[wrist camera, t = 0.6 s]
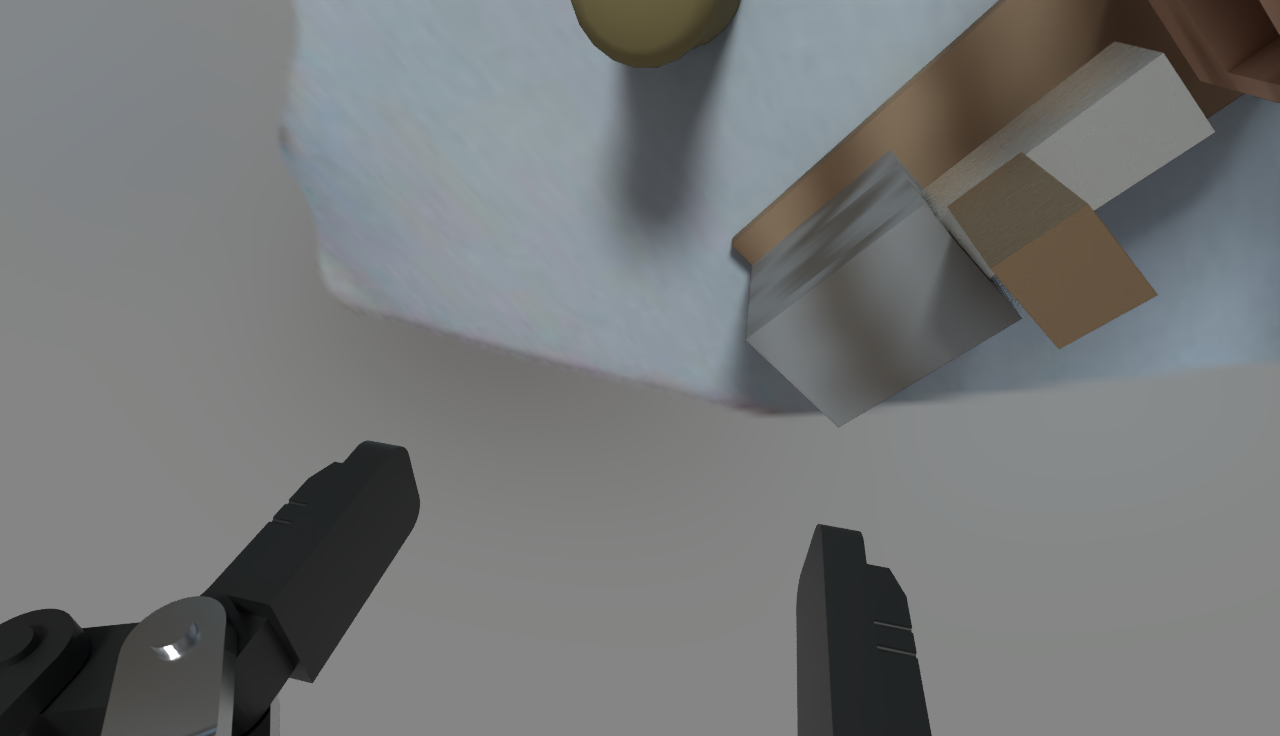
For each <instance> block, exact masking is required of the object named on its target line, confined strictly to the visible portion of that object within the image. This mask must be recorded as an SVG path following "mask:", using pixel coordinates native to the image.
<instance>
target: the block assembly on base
mask: <svg viewBox="0 0 1280 736" xmlns="http://www.w3.org/2000/svg"><path fill="white" fill-rule="evenodd" d="M1114 41H1115V42H1119V43H1123V44H1128V45H1132V46H1136V47H1141V48H1145V49H1149V50H1153V51H1158V52H1162V53H1164V54H1165V56H1166V57H1167V59H1168V60H1169V62H1170V63H1171V65H1172V67H1173V68H1174V70H1175V71H1176V73H1177V74H1178V76H1179V77H1180V79H1181V80H1182V82H1183V83H1184V85H1185V86H1186V88H1187V89H1188V91H1189V92H1190V94H1191V96H1192V97H1193V99H1194V100H1195V102H1196V103H1197V105H1198V106H1199V108H1200V109H1201V111H1202V112H1203V114H1204V115H1205V117H1206V118H1209V117H1210V116H1212V115H1213V114H1215V113H1216V112H1218V111H1219V110H1221V109H1222V108H1224V107H1225V106H1227V105H1228V104H1230V103H1231V102H1233V101H1234V100H1236V99H1237V98H1239V97H1240V96H1242V95H1243V94H1248V95H1252V96H1256V97H1259V98H1263V99H1266V100H1270V101H1273V102H1277V103H1280V0H999V1H998V2H997V3H996V4H995V5H993V6H992V7H991V8H990V9H989V10H988V11H987V12H986V13H984V14H983V15H982V16H981V17H980V18H979V19H978V20H977V21H976V22H974V23H973V24H972V25H971V26H970V27H969V28H968V29H967V30H965V31H964V32H963V33H962V34H961V35H960V36H959V37H958V38H956V39H955V40H954V41H953V42H952V43H951V44H950V45H949V46H947V47H946V48H945V49H944V50H943V51H942V52H941V53H940V54H939V55H937V56H936V57H935V58H934V59H933V60H932V61H931V62H930V63H928V64H927V65H926V66H925V67H924V68H923V69H922V70H921V71H919V72H918V73H917V74H916V75H915V76H914V77H913V78H912V79H911V80H909V81H908V82H907V83H906V84H905V85H904V86H903V87H902V88H900V89H899V90H898V91H897V92H896V93H895V94H894V95H893V96H891V97H890V98H889V99H888V100H887V101H886V102H885V103H884V104H882V105H881V106H880V107H879V108H878V109H877V110H876V111H875V112H874V113H872V114H871V115H870V116H869V117H868V118H867V119H866V120H865V121H863V122H862V123H861V124H860V125H859V126H858V127H857V128H856V129H854V130H853V131H852V132H851V133H850V134H849V135H848V136H847V137H845V138H844V139H843V140H842V141H841V142H840V143H839V144H838V145H837V146H835V147H834V148H833V149H832V150H831V151H830V152H829V153H828V154H826V155H825V156H824V157H823V158H822V159H821V160H820V161H819V162H817V163H816V164H815V165H814V166H813V167H812V168H811V169H810V170H809V171H807V172H806V173H805V174H804V175H803V176H802V177H801V178H800V179H798V180H797V181H796V182H795V183H794V184H793V185H792V186H791V187H789V188H788V189H787V190H786V191H785V192H784V193H783V194H782V195H780V196H779V197H778V198H777V199H776V200H775V201H774V202H773V203H772V204H770V205H769V206H768V207H767V208H766V209H765V210H764V211H763V212H761V213H760V214H759V215H758V216H757V217H756V218H755V219H754V220H752V221H751V222H750V223H749V224H748V225H747V226H746V227H745V228H743V229H742V230H741V231H740V232H739V233H738V234H737V235H736V236H735V237H733V239H732V246H733V247H734V248H735V249H736V250H737V251H738V252H739V253H740V254H741V255H742V256H743V257H744V258H745V259H746V260H747V261H748V262H749V263H750V264H751V265H752V272H751V283H750V295H749V306H748V317H747V329H746V341H747V342H748V343H749V344H750V345H751V346H752V347H754V348H755V349H756V350H757V351H758V352H759V353H760V354H761V355H762V356H763V357H764V358H765V359H766V360H767V361H768V362H769V363H771V364H772V365H773V366H774V367H775V368H776V369H777V370H778V371H779V372H780V373H781V374H782V375H783V376H784V377H785V378H786V379H788V380H789V381H790V382H791V383H792V384H793V385H794V386H795V387H796V388H797V389H798V390H799V391H800V392H801V393H802V394H803V395H804V396H806V397H807V398H808V399H809V400H810V401H811V402H812V403H813V404H814V405H815V406H816V407H817V408H818V409H819V410H820V411H821V412H823V413H824V414H825V415H826V416H827V417H828V418H829V419H830V420H831V421H832V422H833V423H834V424H835V425H836V426H837V427H840V426H842V425H843V424H845V423H847V422H849V421H850V420H852V419H854V418H855V417H857V416H859V415H860V414H862V413H864V412H866V411H867V410H869V409H871V408H872V407H874V406H876V405H877V404H879V403H881V402H882V401H884V400H886V399H887V398H889V397H891V396H892V395H894V394H896V393H898V392H899V391H901V390H903V389H904V388H906V387H908V386H909V385H911V384H913V383H914V382H916V381H918V380H919V379H921V378H923V377H924V376H926V375H928V374H929V373H931V372H933V371H935V370H936V369H938V368H940V367H941V366H943V365H945V364H946V363H948V362H950V361H951V360H953V359H955V358H956V357H958V356H960V355H961V354H963V353H965V352H966V351H968V350H970V349H972V348H973V347H975V346H977V345H978V344H980V343H982V342H983V341H985V340H987V339H988V338H990V337H992V336H993V335H995V334H997V333H998V332H1000V331H1002V330H1003V329H1005V328H1007V327H1009V326H1010V325H1012V324H1014V323H1015V322H1017V321H1019V320H1020V319H1022V318H1021V317H1020V315H1019V314H1018V312H1017V311H1016V309H1015V308H1014V306H1013V305H1012V303H1011V302H1010V301H1009V299H1008V298H1007V296H1006V295H1005V293H1004V292H1003V290H1002V289H1001V287H1000V286H999V284H998V283H997V282H996V280H995V279H994V277H993V276H992V277H991V278H988V276H987V275H986V274H985V273H984V272H983V271H982V269H981V268H980V267H979V266H978V265H977V264H976V262H975V261H974V260H973V259H972V258H971V257H970V255H969V254H968V253H967V252H966V251H965V250H964V249H963V247H962V246H961V245H960V244H959V243H958V242H957V240H956V239H955V238H954V237H953V236H952V235H951V233H950V232H949V231H948V230H947V229H946V228H945V227H944V225H943V224H942V223H941V222H940V221H939V220H938V218H937V217H936V216H935V215H934V214H933V212H932V210H931V209H930V207H929V206H928V204H927V202H926V201H925V199H924V197H923V196H922V194H921V193H920V192H921V191H922V190H923V189H925V188H926V187H927V186H928V185H930V184H931V183H932V182H934V181H935V180H936V179H938V178H939V177H940V176H941V175H943V174H944V173H945V172H947V171H948V170H949V169H950V168H952V167H953V166H954V165H956V164H957V163H958V162H959V161H961V160H962V159H963V158H965V157H966V156H967V155H968V154H970V153H971V152H972V151H974V150H975V149H976V148H978V147H979V146H980V145H981V144H983V143H984V142H985V141H987V140H988V139H989V138H990V137H992V136H993V135H994V134H996V133H997V132H998V131H999V130H1001V129H1002V128H1003V127H1005V126H1006V125H1007V124H1008V123H1010V122H1011V121H1012V120H1014V119H1015V118H1016V117H1018V116H1019V115H1020V114H1021V113H1023V112H1024V111H1025V110H1027V109H1028V108H1029V107H1030V106H1032V105H1033V104H1034V103H1036V102H1037V101H1038V100H1039V99H1041V98H1042V97H1043V96H1045V95H1046V94H1047V93H1048V92H1050V91H1051V90H1052V89H1054V88H1055V87H1056V86H1057V85H1059V84H1060V83H1061V82H1063V81H1064V80H1065V79H1067V78H1068V77H1069V76H1070V75H1072V74H1073V73H1074V72H1076V71H1077V70H1078V69H1079V68H1081V67H1082V66H1083V65H1085V64H1086V63H1087V62H1088V61H1090V60H1091V59H1092V58H1094V57H1095V56H1096V55H1097V54H1099V53H1100V52H1101V51H1103V50H1104V49H1105V48H1107V47H1108V46H1109V45H1110V44H1112V43H1113V42H1114Z"/></svg>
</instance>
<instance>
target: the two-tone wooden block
mask: <svg viewBox="0 0 1280 736" xmlns="http://www.w3.org/2000/svg"><path fill="white" fill-rule="evenodd" d="M1213 133H1215V131H1214V129H1213V128H1212V126H1211V125H1210V123H1209V122H1208V120H1207V118H1206V117H1205V115H1204V114H1203V112H1202V111H1201V109H1200V108H1199V106H1198V105H1197V103H1196V102H1195V100H1194V99H1193V97H1192V96H1191V94H1190V92H1189V91H1188V89H1187V88H1186V86H1185V85H1184V83H1183V82H1182V80H1181V79H1180V77H1179V76H1178V74H1177V73H1176V71H1175V70H1174V68H1173V67H1172V65H1171V63H1170V62H1169V60H1168V59H1167V57H1166V56H1165V54H1164V53H1162V52H1158V51H1153V50H1149V49H1145V48H1141V47H1136V46H1132V45H1128V44H1123V43H1119V42H1115V41H1114V42H1113V43H1112V44H1110V45H1109V46H1108V47H1107V48H1105V49H1104V50H1103V51H1101V52H1100V53H1099V54H1097V55H1096V56H1095V57H1094V58H1092V59H1091V60H1090V61H1088V62H1087V63H1086V64H1085V65H1083V66H1082V67H1081V68H1079V69H1078V70H1077V71H1076V72H1074V73H1073V74H1072V75H1070V76H1069V77H1068V78H1067V79H1065V80H1064V81H1063V82H1061V83H1060V84H1059V85H1057V86H1056V87H1055V88H1054V89H1052V90H1051V91H1050V92H1048V93H1047V94H1046V95H1045V96H1043V97H1042V98H1041V99H1039V100H1038V101H1037V102H1036V103H1034V104H1033V105H1032V106H1030V107H1029V108H1028V109H1027V110H1025V111H1024V112H1023V113H1021V114H1020V115H1019V116H1018V117H1016V118H1015V119H1014V120H1012V121H1011V122H1010V123H1008V124H1007V125H1006V126H1005V127H1003V128H1002V129H1001V130H999V131H998V132H997V133H996V134H994V135H993V136H992V137H990V138H989V139H988V140H987V141H985V142H984V143H983V144H981V145H980V146H979V147H978V148H976V149H975V150H974V151H972V152H971V153H970V154H968V155H967V156H966V157H965V158H963V159H962V160H961V161H959V162H958V163H957V164H956V165H954V166H953V167H952V168H950V169H949V170H948V171H947V172H945V173H944V174H943V175H941V176H940V177H939V178H938V179H936V180H935V181H934V182H932V183H931V184H930V185H928V186H927V187H926V188H925V189H923V190H922V191H921V192H920V193H921V194H922V196H923V197H924V199H925V201H926V202H927V204H928V206H929V207H930V209H931V210H932V212H933V214H934V215H935V216H936V217H937V218H938V220H939V221H940V222H941V223H942V224H943V225H944V227H945V228H946V229H947V230H948V231H949V232H950V233H951V235H952V236H953V237H954V238H955V239H956V240H957V242H958V243H959V244H960V245H961V246H962V247H963V249H964V250H965V251H966V252H967V253H968V254H969V255H970V257H971V258H972V259H973V260H974V261H975V262H976V264H977V265H978V266H979V267H980V268H981V269H982V271H983V272H984V273H985V274H986V275H987V276H988V278H991V277H992V276H994V275H996V276H997V277H998V279H999V280H1000V281H1001V282H1002V283H1003V284H1004V286H1005V287H1006V288H1007V289H1008V290H1009V291H1010V293H1011V294H1012V295H1013V296H1014V297H1015V298H1016V300H1017V301H1018V302H1019V303H1020V304H1021V305H1022V307H1023V308H1024V309H1025V310H1026V311H1027V312H1028V314H1029V315H1030V316H1031V317H1032V318H1033V319H1034V321H1035V322H1036V323H1037V324H1038V325H1039V326H1040V328H1041V329H1042V330H1043V331H1044V332H1045V333H1046V335H1047V336H1048V337H1049V338H1050V339H1051V340H1052V342H1053V343H1054V344H1055V345H1056V346H1057V347H1058V349H1060V348H1062V347H1064V346H1066V345H1068V344H1069V343H1071V342H1073V341H1075V340H1077V339H1079V338H1080V337H1082V336H1084V335H1086V334H1088V333H1089V332H1091V331H1093V330H1095V329H1097V328H1099V327H1100V326H1102V325H1104V324H1106V323H1108V322H1109V321H1111V320H1113V319H1115V318H1117V317H1119V316H1120V315H1122V314H1124V313H1126V312H1128V311H1129V310H1131V309H1133V308H1135V307H1137V306H1139V305H1140V304H1142V303H1144V302H1146V301H1148V300H1150V299H1151V298H1153V297H1155V296H1157V295H1158V294H1157V293H1156V292H1155V291H1154V289H1153V288H1152V287H1151V285H1150V284H1149V283H1148V281H1147V280H1146V279H1145V277H1144V276H1143V275H1142V273H1141V272H1140V271H1139V270H1138V268H1137V267H1136V266H1135V264H1134V263H1133V262H1132V260H1131V259H1130V258H1129V256H1128V255H1127V254H1126V252H1125V251H1124V250H1123V249H1122V247H1121V246H1120V245H1119V243H1118V242H1117V241H1116V239H1115V238H1114V237H1113V235H1112V234H1111V233H1110V231H1109V230H1108V229H1107V228H1106V226H1105V225H1104V224H1103V222H1102V221H1101V220H1100V218H1099V217H1098V216H1097V214H1096V213H1095V212H1094V210H1096V209H1097V208H1099V207H1100V206H1102V205H1103V204H1105V203H1107V202H1108V201H1110V200H1111V199H1113V198H1114V197H1116V196H1117V195H1119V194H1120V193H1122V192H1124V191H1125V190H1127V189H1128V188H1130V187H1131V186H1133V185H1134V184H1136V183H1137V182H1139V181H1141V180H1142V179H1144V178H1145V177H1147V176H1148V175H1150V174H1151V173H1153V172H1154V171H1156V170H1157V169H1159V168H1161V167H1162V166H1164V165H1165V164H1167V163H1168V162H1170V161H1171V160H1173V159H1174V158H1176V157H1178V156H1179V155H1181V154H1182V153H1184V152H1185V151H1187V150H1188V149H1190V148H1191V147H1193V146H1195V145H1196V144H1198V143H1199V142H1201V141H1202V140H1204V139H1205V138H1207V137H1208V136H1210V135H1211V134H1213Z"/></svg>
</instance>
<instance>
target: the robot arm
mask: <svg viewBox="0 0 1280 736" xmlns="http://www.w3.org/2000/svg"><path fill="white" fill-rule="evenodd" d="M419 509H420V498H419V494H418V490H417V486H416V482H415V478H414V474H413V470H412V466H411V462H410V458H409V454H408V451H407V450H406V449H405V448H404V447H401V446H396V445H390V444H385V443H379V442H374V441H364V442H362V443H361V444H359V445H358V446H357V447H356V449H355V450H354V451H353V452H352V453H351V454H350V456H349V457H348V458H347V459H346V460H345V461H344V462H343V463H338V462H334V463H332V464H330V465H329V466H327V467H326V468H324V469H323V470H321V471H319V472H318V473H316V474H315V475H313V476H311V477H310V478H308V480H307V481H306V482H305V483H304V484H303V485H302V486H301V487H300V488H299V489H298V490H297V492H296V493H295V494H294V495H293V496H292V497H291V498H290V499H289V503H288V504H285V505H284V506H283V507H282V508H281V509H280V510H279V511H278V512H277V514H276V515H275V516H274V517H273V521H272V522H268V523H267V524H266V526H265V527H264V528H263V529H262V530H261V531H260V532H259V533H258V534H257V535H256V537H255V538H254V539H253V540H252V541H251V542H250V543H249V544H248V545H247V547H246V548H245V549H244V550H243V551H242V552H241V553H240V554H239V555H238V556H237V557H236V559H235V560H234V561H233V562H232V563H231V564H230V565H229V566H228V567H227V568H226V569H225V571H224V572H223V573H222V574H221V575H220V576H219V577H218V578H217V579H216V580H215V582H214V583H213V584H212V585H211V586H210V587H209V588H208V589H207V590H206V591H205V592H204V593H203V594H201V595H200V596H195V597H188V598H184V599H180V600H177V601H174V602H171V603H169V604H167V605H165V606H163V607H161V608H159V609H158V610H156V611H154V612H153V613H151V614H150V615H149V616H147V617H146V618H145V619H143V620H142V621H141V622H139V623H130V624H120V625H110V626H100V627H90V628H81V627H80V626H79V625H78V624H77V623H76V622H75V620H73V618H72V617H71V616H70V615H69V614H68V613H66V612H65V611H62V610H58V609H41V610H36V611H31V612H28V613H25V614H22V615H19V616H17V617H15V618H12V619H10V620H8V621H6V622H4V623H2V624H0V736H279V735H280V730H279V729H280V703H279V697H278V693H279V691H280V690H281V688H282V687H283V686H284V684H285V682H286V681H287V679H288V678H293V679H298V680H301V681H305V682H309V683H313V682H314V680H315V679H316V677H317V676H318V674H319V672H320V671H321V669H322V668H323V666H324V665H325V663H326V662H327V660H328V659H329V657H330V655H331V654H332V652H333V651H334V649H335V648H336V646H337V645H338V643H339V642H340V640H341V639H342V637H343V635H344V634H345V632H346V631H347V629H348V628H349V626H350V625H351V623H352V622H353V620H354V619H355V617H356V616H357V614H358V612H359V611H360V609H361V608H362V606H363V605H364V603H365V602H366V600H367V599H368V597H369V596H370V594H371V593H372V591H373V589H374V588H375V586H376V585H377V583H378V582H379V580H380V579H381V577H382V576H383V574H384V573H385V571H386V569H387V568H388V566H389V565H390V563H391V562H392V560H393V559H394V557H395V556H396V554H397V553H398V551H399V549H400V548H401V546H402V544H403V543H404V542H405V540H406V539H407V537H408V536H409V534H410V532H411V531H412V529H413V528H414V525H415V523H416V520H417V518H418V514H419ZM796 616H797V702H798V703H797V708H798V736H932V735H931V730H930V724H929V719H928V713H927V707H926V702H925V697H924V691H923V685H922V680H921V675H920V669H919V664H918V659H917V658H916V647H915V641H914V636H913V633H912V632H911V628H912V625H911V619H910V614H909V608H908V603H907V597H906V595H905V594H904V592H903V590H902V589H901V587H900V585H899V584H898V582H897V581H896V579H895V577H894V575H893V574H892V572H891V571H890V569H889V568H885V567H880V566H874V565H869V564H867V563H866V555H865V547H864V540H863V536H862V534H861V532H859V531H854V530H849V529H844V528H837V527H832V526H827V525H822V524H818V525H817V526H816V528H815V531H814V534H813V538H812V540H811V544H810V547H809V550H808V554H807V556H806V559H805V562H804V566H803V568H802V572H801V575H800V579H799V585H798V592H797V607H796Z"/></svg>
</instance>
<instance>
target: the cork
mask: <svg viewBox="0 0 1280 736" xmlns="http://www.w3.org/2000/svg"><path fill="white" fill-rule="evenodd" d="M571 3H572V5H573V8H574V11H575V14H576V16H577V19H578V22H579V25H580V26H581V28H582V29H583V31H584V32H585V33H586V35H587V36H588V38H589V39H590V40H591V42H592V43H593V45H594V46H596V47H597V48H598V49H599V50H601V51H602V52H603V53H605V54H606V55H607V56H609V57H610V58H611V59H612V60H614V61H617V62H619V63H622V64H625V65H628V66H631V67H634V68H655V67H659V66H662V65H665V64H667V63H670V62H672V61H675V60H678V59H679V58H680V57H681V56H683V55H684V54H685V53H686V52H687V51H689V50H690V49H693V48H695V47H698V46H700V45H703V44H705V43H708V42H710V41H711V40H712V39H713V38H714V37H716V36H717V35H718V34H719V33H720V32H722V31H723V30H724V29H725V28H726V26H727V25H728V23H729V22H730V20H731V19H732V17H733V16H734V14H735V13H736V11H737V10H738V6H739V3H740V0H571Z"/></svg>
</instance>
